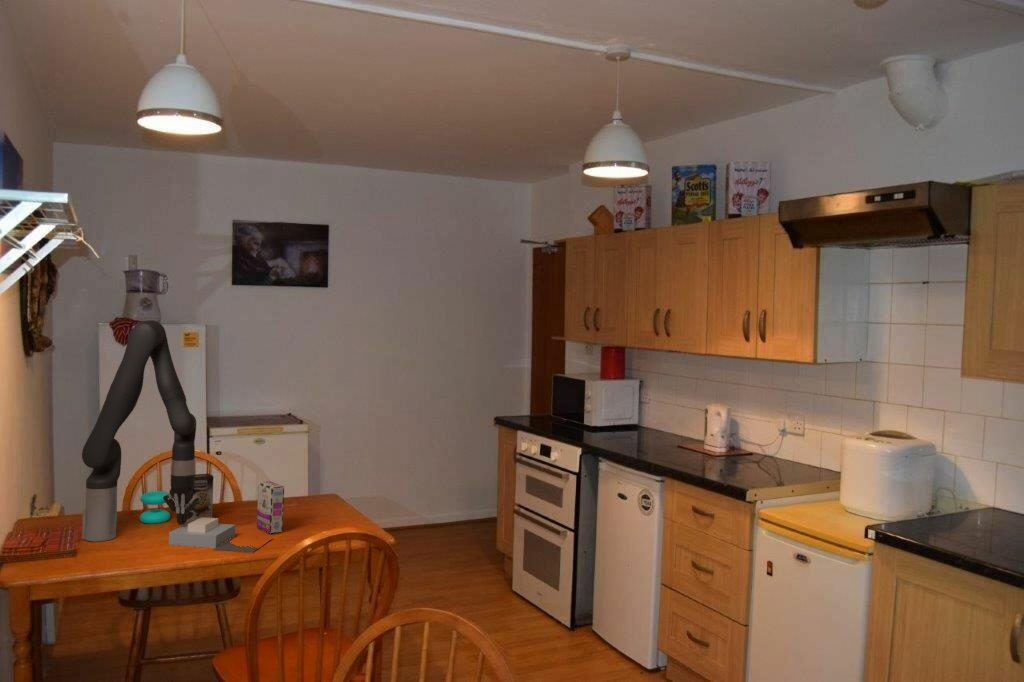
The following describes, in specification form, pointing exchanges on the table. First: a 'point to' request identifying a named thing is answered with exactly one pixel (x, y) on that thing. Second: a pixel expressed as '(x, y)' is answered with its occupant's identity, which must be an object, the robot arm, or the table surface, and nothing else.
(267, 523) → the candy bar box
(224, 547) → the mat
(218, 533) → the block
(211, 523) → the white rectangular block
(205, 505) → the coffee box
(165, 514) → the donuts
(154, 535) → the table surface
